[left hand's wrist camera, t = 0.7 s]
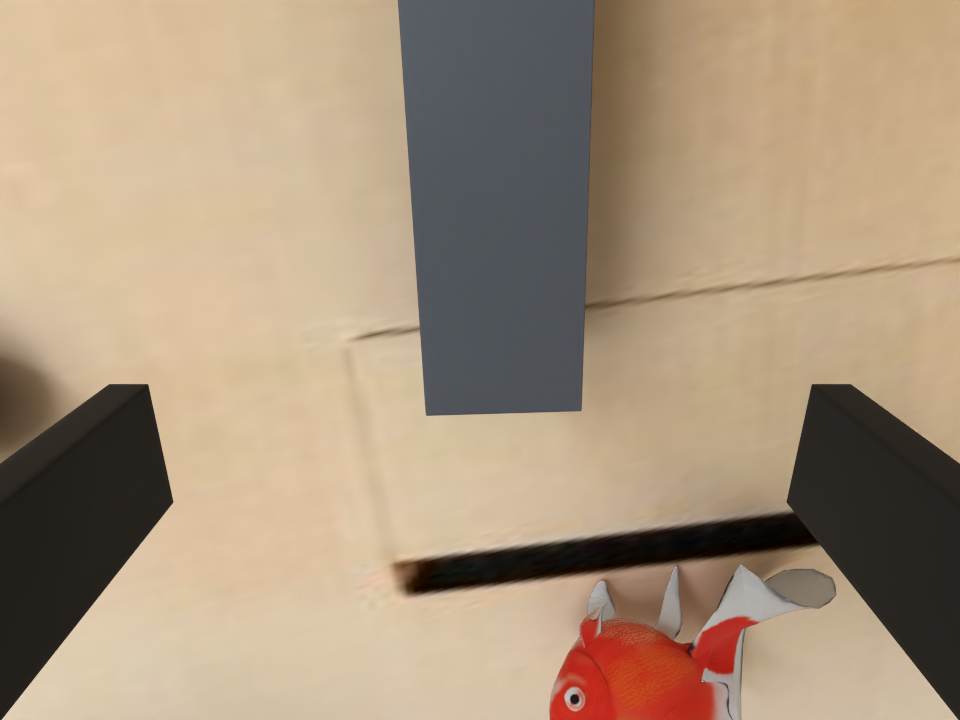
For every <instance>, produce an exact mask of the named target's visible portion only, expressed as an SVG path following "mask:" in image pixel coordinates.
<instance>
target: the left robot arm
mask: <svg viewBox="0 0 960 720" xmlns="http://www.w3.org/2000/svg"><path fill="white" fill-rule="evenodd" d="M172 503H173V498H172V493H171V489H170V484H169V480H168V475H167V470H166V466H165V461H164V456H163V452H162V447H161V442H160V438H159V433H158V428H157V424H156V419H155V414H154V410H153V405H152V400H151V396H150V391H149V386H148V384H109V385H108V386H106V387H105V388H104V389H102V390H101V391H99V392H98V393H97V394H95V395H94V396H93V397H91V398H90V399H88V400H87V401H86V402H84V403H83V404H82V405H80V406H79V407H77V408H76V409H75V410H73V411H72V412H71V413H69V414H68V415H67V416H65V417H64V418H62V419H61V420H60V421H58V422H57V423H56V424H54V425H53V426H51V427H50V428H49V429H47V430H46V431H45V432H43V433H42V434H40V435H39V436H38V437H36V438H35V439H34V440H32V441H31V442H29V443H28V444H27V445H25V446H24V447H23V448H21V449H20V450H18V451H17V452H16V453H14V454H13V455H12V456H10V457H9V458H7V459H6V460H5V461H3V462H2V463H1V464H0V720H2V718H3V717H4V716H5V715H6V713H7V712H8V711H9V710H10V708H11V707H12V706H13V705H14V703H15V702H16V701H17V699H18V698H19V697H20V696H21V694H22V693H23V692H24V691H25V689H26V688H27V687H28V686H29V684H30V683H31V682H32V681H33V679H34V678H35V677H36V675H37V674H38V673H39V672H40V670H41V669H42V668H43V667H44V665H45V664H46V663H47V662H48V660H49V659H50V658H51V656H52V655H53V654H54V653H55V651H56V650H57V649H58V648H59V646H60V645H61V644H62V643H63V641H64V640H65V639H66V637H67V636H68V635H69V634H70V632H71V631H72V630H73V629H74V627H75V626H76V625H77V624H78V622H79V621H80V620H81V619H82V617H83V616H84V615H85V613H86V612H87V611H88V610H89V608H90V607H91V606H92V605H93V603H94V602H95V601H96V600H97V598H98V597H99V596H100V594H101V593H102V592H103V591H104V589H105V588H106V587H107V586H108V584H109V583H110V582H111V581H112V579H113V578H114V577H115V575H116V574H117V573H118V572H119V570H120V569H121V568H122V567H123V565H124V564H125V563H126V562H127V560H128V559H129V558H130V557H131V555H132V554H133V553H134V551H135V550H136V549H137V548H138V546H139V545H140V544H141V543H142V541H143V540H144V539H145V538H146V536H147V535H148V534H149V532H150V531H151V530H152V529H153V527H154V526H155V525H156V524H157V522H158V521H159V520H160V519H161V517H162V516H163V515H164V514H165V512H166V511H167V510H168V508H169V507H170V506H171V505H172ZM787 503H788V505H789V506H790V507H791V508H792V510H793V511H794V512H795V514H796V515H797V516H798V517H799V519H800V520H801V521H802V522H803V524H804V525H805V526H806V527H807V529H808V530H809V531H810V532H811V534H812V535H813V536H814V538H815V539H816V540H817V541H818V543H819V544H820V545H821V546H822V548H823V549H824V550H825V551H826V553H827V554H828V555H829V557H830V558H831V559H832V560H833V562H834V563H835V564H836V565H837V567H838V568H839V569H840V570H841V572H842V573H843V574H844V575H845V577H846V578H847V579H848V581H849V582H850V583H851V584H852V586H853V587H854V588H855V589H856V591H857V592H858V593H859V594H860V596H861V597H862V598H863V600H864V601H865V602H866V603H867V605H868V606H869V607H870V608H871V610H872V611H873V612H874V613H875V615H876V616H877V617H878V619H879V620H880V621H881V622H882V624H883V625H884V626H885V627H886V629H887V630H888V631H889V632H890V634H891V635H892V636H893V637H894V639H895V640H896V641H897V643H898V644H899V645H900V646H901V648H902V649H903V650H904V651H905V653H906V654H907V655H908V656H909V658H910V659H911V660H912V662H913V663H914V664H915V665H916V667H917V668H918V669H919V670H920V672H921V673H922V674H923V675H924V677H925V678H926V679H927V680H928V682H929V683H930V684H931V686H932V687H933V688H934V689H935V691H936V692H937V693H938V694H939V696H940V697H941V698H942V699H943V701H944V702H945V703H946V705H947V706H948V707H949V708H950V710H951V711H952V712H953V713H954V715H955V716H956V717H957V718H958V720H960V464H959V463H958V462H957V461H955V460H954V459H953V458H951V457H950V456H948V455H947V454H946V453H944V452H943V451H942V450H940V449H939V448H937V447H936V446H935V445H933V444H932V443H931V442H929V441H928V440H926V439H925V438H924V437H922V436H921V435H920V434H918V433H917V432H915V431H914V430H913V429H911V428H910V427H909V426H907V425H906V424H904V423H903V422H902V421H900V420H899V419H898V418H896V417H895V416H893V415H892V414H891V413H889V412H888V411H887V410H885V409H884V408H883V407H881V406H880V405H878V404H877V403H876V402H874V401H873V400H872V399H870V398H869V397H867V396H866V395H865V394H863V393H862V392H861V391H859V390H858V389H856V388H855V387H854V386H852V385H851V384H812V386H811V391H810V396H809V400H808V405H807V410H806V414H805V419H804V424H803V428H802V433H801V438H800V442H799V447H798V452H797V456H796V461H795V466H794V470H793V475H792V480H791V484H790V489H789V494H788V498H787Z"/></svg>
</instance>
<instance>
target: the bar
mask: <svg viewBox="0 0 960 720" xmlns="http://www.w3.org/2000/svg"><path fill="white" fill-rule="evenodd" d="M594 4H595V0H398V8H399V23H400V37H401V52H402V67H403V82H404V97H405V112H406V127H407V141H408V156H409V171H410V186H411V201H412V216H413V231H414V245H415V260H416V275H417V290H418V305H419V320H420V335H421V349H422V364H423V379H424V394H425V409H426V415H427V416H432V415H465V414H499V413H532V412H566V411H581V410H582V380H583V348H584V317H585V286H586V254H587V223H588V192H589V161H590V129H591V98H592V67H593V36H594Z"/></svg>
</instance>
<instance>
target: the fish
mask: <svg viewBox="0 0 960 720" xmlns="http://www.w3.org/2000/svg"><path fill="white" fill-rule="evenodd" d="M835 596H836V587H835V583H834V581H833V579H832V577H829V576H827V575H825V574H823V573H821V572H819V571H816V570H814V569H793V570H784V571H782V572H780V573H778V574H776V575H774V576H772V577H770V578H769V579H768V580H766V581H765V582H764V581H763V580H761V579H760V578H759V577H757V576H756V575H755V574H753V573H752V572H751V571H749V570H748V569H747V568H745V567H744V566H743V565H741V564H740V566H739V567H738V569H737V570H736V572H735V573H734V575H733V576H732V578H731V580H730V581H729V583H728V585H727V587H726V589H725V592H724V594H723V596H722V598H721V601H720V603H719V605H718V607H717V610H716V611H715V612H714V614H713V615H712V616H711V618H710V619H709V620H708V622H707V623H706V625H705V626H704V627H703V629H702V630H701V631H700V633H699V634H698V635H697V637H696V638H695V639H694V641H693V642H692V643H685V644H680V643H677V642H675V641H673V639H674V638H675V637H676V636H677V635H678V633H679V632H680V628H681V624H682V620H681V606H680V596H679V578H678V567H676V566H675V567H674V569H673V572H672V575H671V578H670V581H669V583H668V586H667V589H666V592H665V596H664V600H663V605H662V610H661V614H660V618H659V620H658V622H657V624H656V625H655V626H654V628H652V627H650V626H648V625H646V624H643V623H640V622H637V621H633V620H628V619H613V617H614V615H615V606H614V604H613V601H612V599H611V597H610V595H609V592H608V589H607V585H606V583H605V582H604V581H599V582H598V583H597V585H596V586H595V588H594V590H593V592H592V594H591V596H590V598H589V601H588V607H587V611H588V616H587V617H586V618H585V619H584V620H583V622H582V624H581V625H580V637H579V638H578V640H577V641H576V642H575V644H574V645H573V647H572V648H571V650H570V651H569V653H568V655H567V657H566V659H565V661H564V663H563V665H562V667H561V669H560V672H559V674H558V676H557V679H556V681H555V683H554V686H553V689H552V693H551V698H550V720H741V678H742V655H743V641H744V634H745V628H746V627H749V626H751V625H755V624H757V623H759V622H762V621H764V620H767V619H769V618H772V617H775V616H777V615H780V614H783V613H786V612H791V611H795V610H799V609H807V608H815V609H819V608H821V607H822V606H824V605H826V604H828V603H829V602H830V601H831V600H832V599H833V598H834V597H835ZM702 680H703V681H704V682H701V681H702Z"/></svg>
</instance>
